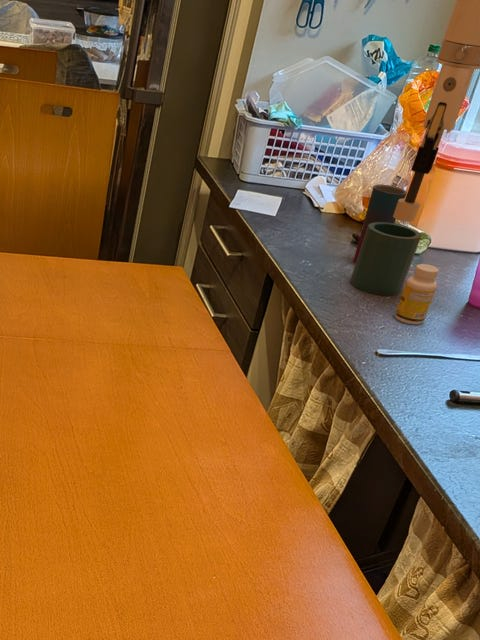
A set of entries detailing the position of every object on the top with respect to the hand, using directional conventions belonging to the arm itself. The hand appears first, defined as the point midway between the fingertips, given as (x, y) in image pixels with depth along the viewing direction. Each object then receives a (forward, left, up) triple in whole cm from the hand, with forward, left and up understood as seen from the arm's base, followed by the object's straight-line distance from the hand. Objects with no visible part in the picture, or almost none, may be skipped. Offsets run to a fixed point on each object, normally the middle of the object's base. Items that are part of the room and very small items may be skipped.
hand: (421, 170), depth 172 cm
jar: (-3, -4, -23) cm, 24 cm away
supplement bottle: (+2, +13, -23) cm, 27 cm away
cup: (-10, -17, -23) cm, 30 cm away
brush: (0, 0, -9) cm, 9 cm away
